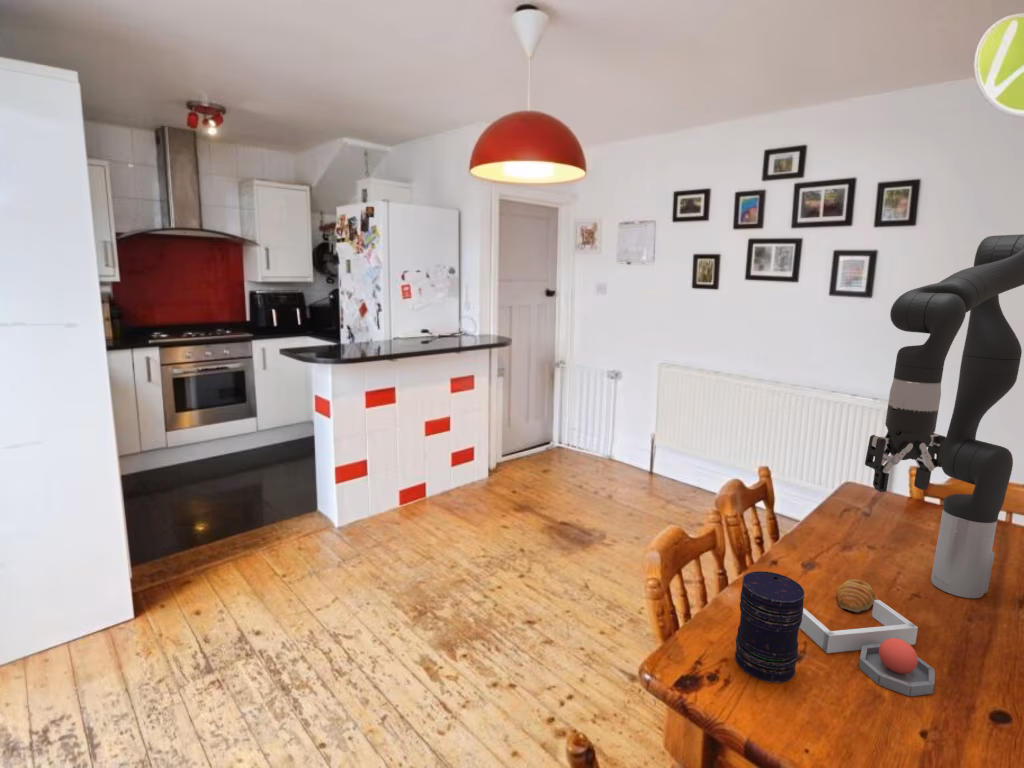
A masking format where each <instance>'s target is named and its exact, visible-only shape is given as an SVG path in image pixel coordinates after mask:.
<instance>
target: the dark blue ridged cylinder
mask: <svg viewBox="0 0 1024 768" xmlns="http://www.w3.org/2000/svg"><path fill="white" fill-rule="evenodd" d="M741 583H742V587H741V591H740V597H739V598H740V601H739V611H740V618H739V626H738V627H737V635H736V637H735V653H734V655H735V657H734V659H735V662H736V664H737V665H738V667H739V668H740V669H741V670H742V671H743V672H745V673H746V674H748V675H749V676H751V677H753V678H755V679H757V680H760V681H763V682H766V683H773V684H774V683H775V684H776V683H777V684H781V683H787V682H789V681H791V680H792V679H793V678H794V677H795V674H796V665H797V661H798V655H799V652H798V650H799V641H798V636H799V629H800V628H799V626H800V624H801V622H802V615H803V608H804V600H805V590H804V588H803V586H802V585H801V584H800V583H799V582H797V581H795V580H794V579H792V578H790V577H788V576H786V575H783V574H781V573H775V572H771V571H762V570H759V571H758V570H757V571H751V572H748V573H746V574H744V575H743V578H742V582H741Z"/></svg>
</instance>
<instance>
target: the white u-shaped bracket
mask: <svg viewBox="0 0 1024 768" xmlns="http://www.w3.org/2000/svg"><path fill="white" fill-rule="evenodd" d="M872 606H873V607H872V612H871V617H872V618H873V619H875V620H876V621H878V622H879V623H880V624H881V625H882V626H873V627H871V626H870V627H861V628H852V629H851V628H850V629H840V630H832V631H831V630H830V629H828V627H827V626H825V624H823V622H821V621H820V620H818V619H817V618H816V617H815V616H814V615H813V614H812V613H810V611H808V610H807V609H806V608H804V607H803V615H802V622H801V624H800V626H799V629H800V630H802V631H803V632H804V633H805V635H807V636H808V637H809V638H810V639H811V640H812V641H813V642H814V643H815V644H816V645H818V646H819V647H820V649H822V650H823V651H824V652H825V654H832V653H833V654H835V653H844V652H852V651H860V650H862V646H863V645H872V644H882V642H884V641H885V640H887V639H890V638H897V639H901V640H904V641H905V642H907V643H908V644H910V645H911V646H913V645H916V642H917V636H918V629H919V627H918V626H917V625H916V624H914V623H913V622H911V621H909V620H908V619H907V618H906V617H904V616H903V615H902V614H900V613H899V612H897V611H896V610H894V609H893V608H891V607H890V606H889V605H887V604H886V603H884V602H883V601H882V600H880V599H875V600H874V602H873V605H872Z"/></svg>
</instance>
